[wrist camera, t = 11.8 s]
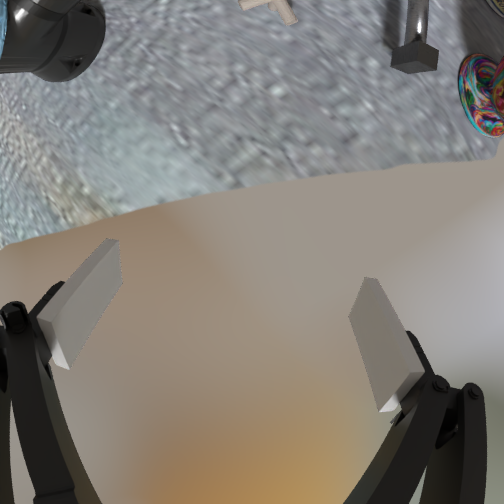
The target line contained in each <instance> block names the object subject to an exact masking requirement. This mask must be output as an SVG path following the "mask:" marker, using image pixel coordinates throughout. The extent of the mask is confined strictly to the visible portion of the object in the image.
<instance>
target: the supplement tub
mask: <svg viewBox="0 0 504 504" xmlns="http://www.w3.org/2000/svg"><path fill="white" fill-rule="evenodd" d="M486 1H487V2H488V4H489V5H490V6H491V7H492V9H493V10H494V11H495V12H496V13H498V14H499V15H500V16H501V17H503V18H504V0H486Z"/></svg>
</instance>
